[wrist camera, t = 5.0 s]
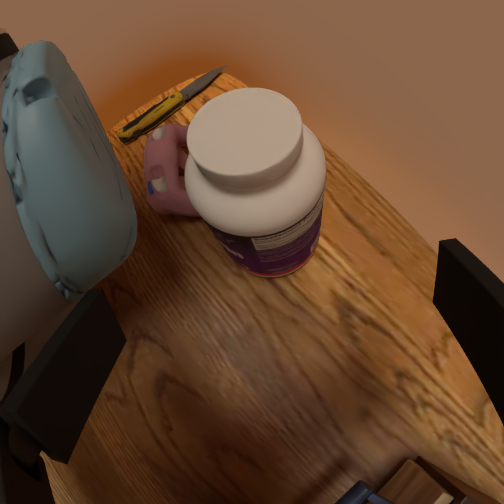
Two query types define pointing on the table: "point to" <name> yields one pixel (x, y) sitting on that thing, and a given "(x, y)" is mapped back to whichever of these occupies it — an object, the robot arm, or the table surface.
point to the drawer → (401, 489)
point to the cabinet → (455, 485)
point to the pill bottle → (257, 179)
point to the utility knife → (164, 108)
